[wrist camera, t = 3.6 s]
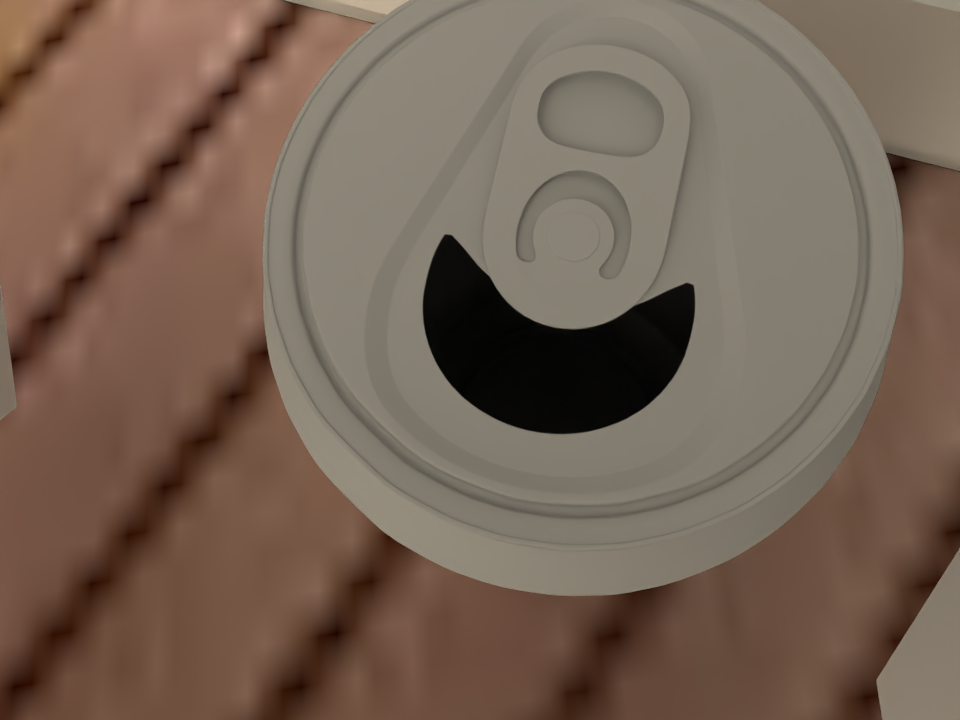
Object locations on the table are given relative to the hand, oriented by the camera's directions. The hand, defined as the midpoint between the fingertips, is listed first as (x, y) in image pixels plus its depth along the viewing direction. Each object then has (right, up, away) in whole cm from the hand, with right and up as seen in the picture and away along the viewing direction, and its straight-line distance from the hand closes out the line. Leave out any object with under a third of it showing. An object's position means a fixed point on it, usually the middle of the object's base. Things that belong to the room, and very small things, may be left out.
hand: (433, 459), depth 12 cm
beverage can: (+2, 0, +8) cm, 8 cm away
